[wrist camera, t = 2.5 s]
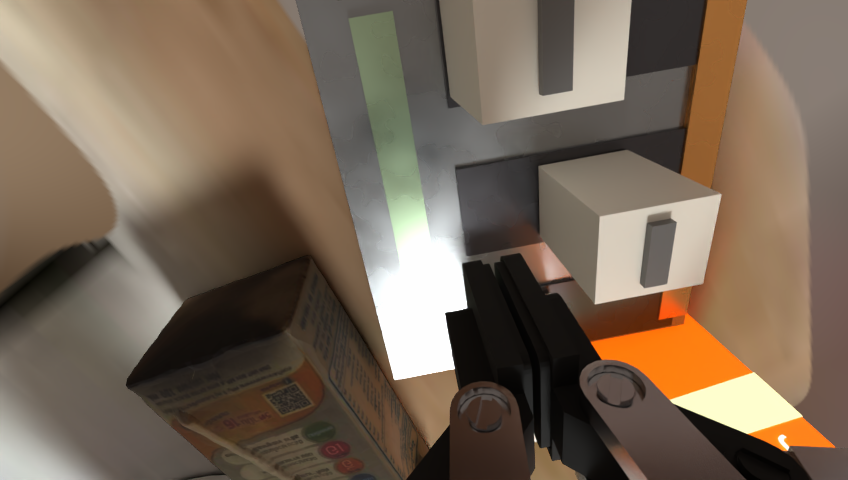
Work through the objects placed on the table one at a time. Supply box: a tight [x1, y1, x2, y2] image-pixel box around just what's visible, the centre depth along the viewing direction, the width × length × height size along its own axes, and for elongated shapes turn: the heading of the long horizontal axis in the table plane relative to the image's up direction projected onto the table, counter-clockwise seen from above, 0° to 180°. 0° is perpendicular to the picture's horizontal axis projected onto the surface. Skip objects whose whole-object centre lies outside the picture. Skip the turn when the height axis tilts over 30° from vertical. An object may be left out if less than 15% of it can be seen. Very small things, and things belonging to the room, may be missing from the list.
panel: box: [296, 0, 747, 380], centre depth 20 cm, size 19×17×2 cm
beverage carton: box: [126, 256, 429, 480], centre depth 23 cm, size 8×19×7 cm, turn 21°
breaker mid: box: [538, 150, 722, 304], centre depth 16 cm, size 4×4×6 cm
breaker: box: [439, 0, 632, 125], centre depth 13 cm, size 4×4×6 cm
